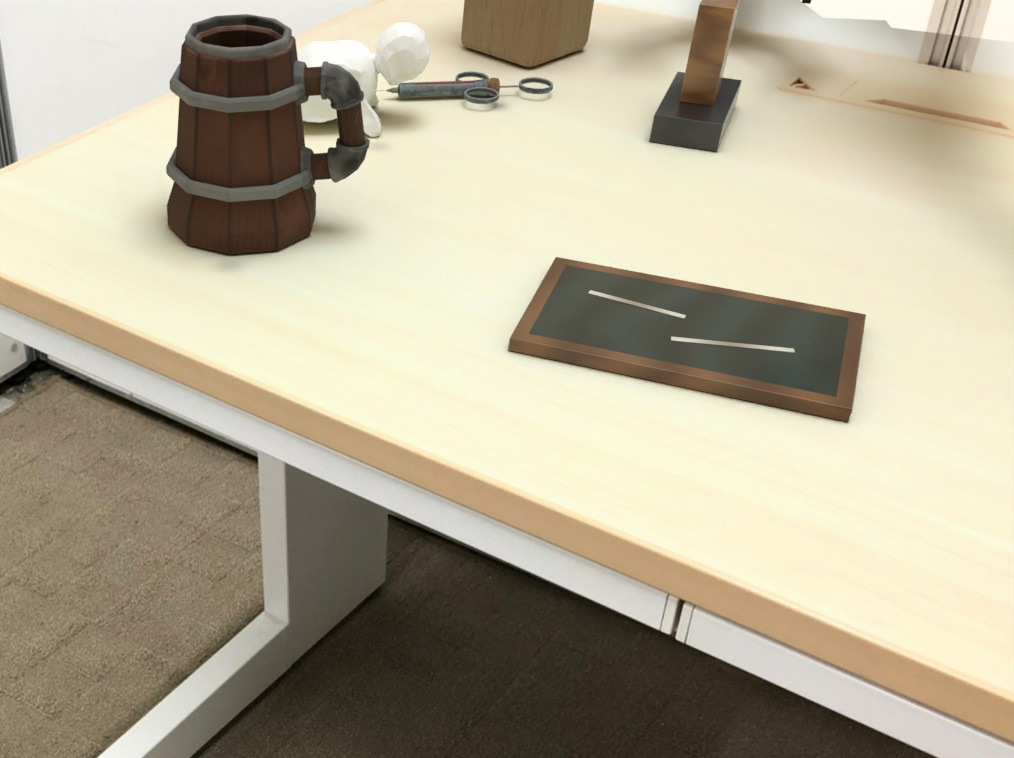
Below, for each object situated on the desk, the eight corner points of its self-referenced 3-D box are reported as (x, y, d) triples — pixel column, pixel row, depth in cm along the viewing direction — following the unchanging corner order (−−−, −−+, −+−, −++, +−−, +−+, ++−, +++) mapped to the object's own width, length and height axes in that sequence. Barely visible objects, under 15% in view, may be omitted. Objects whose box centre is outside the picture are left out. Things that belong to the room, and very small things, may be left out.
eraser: (735, 106, 119) (764, -15, 112) (716, 152, 111) (746, 24, 104) (672, 97, 121) (696, -23, 114) (649, 141, 113) (673, 15, 106)
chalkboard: (861, 326, 87) (866, 313, 87) (847, 422, 78) (852, 408, 78) (553, 268, 94) (555, 255, 93) (507, 350, 85) (509, 337, 84)
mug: (157, 251, 96) (143, 53, 87) (187, 186, 105) (178, 1, 96) (358, 264, 95) (367, 64, 85) (371, 197, 104) (381, 9, 94)
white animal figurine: (292, 168, 116) (447, 110, 112) (257, 83, 110) (419, 19, 107) (293, 133, 122) (440, 77, 118) (260, 50, 117) (413, -11, 113)
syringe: (363, 85, 124) (364, 68, 123) (541, 80, 125) (543, 62, 124) (374, 114, 118) (375, 96, 117) (561, 108, 119) (563, 90, 118)
